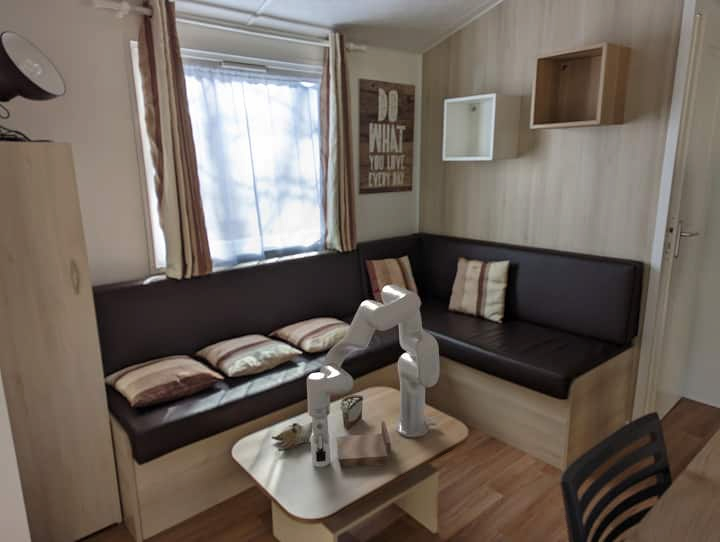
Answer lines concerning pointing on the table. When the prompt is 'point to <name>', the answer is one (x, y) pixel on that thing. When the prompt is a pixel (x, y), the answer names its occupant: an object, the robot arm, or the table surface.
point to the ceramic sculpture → (294, 435)
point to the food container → (351, 410)
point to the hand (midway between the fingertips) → (320, 454)
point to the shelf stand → (364, 449)
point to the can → (314, 449)
